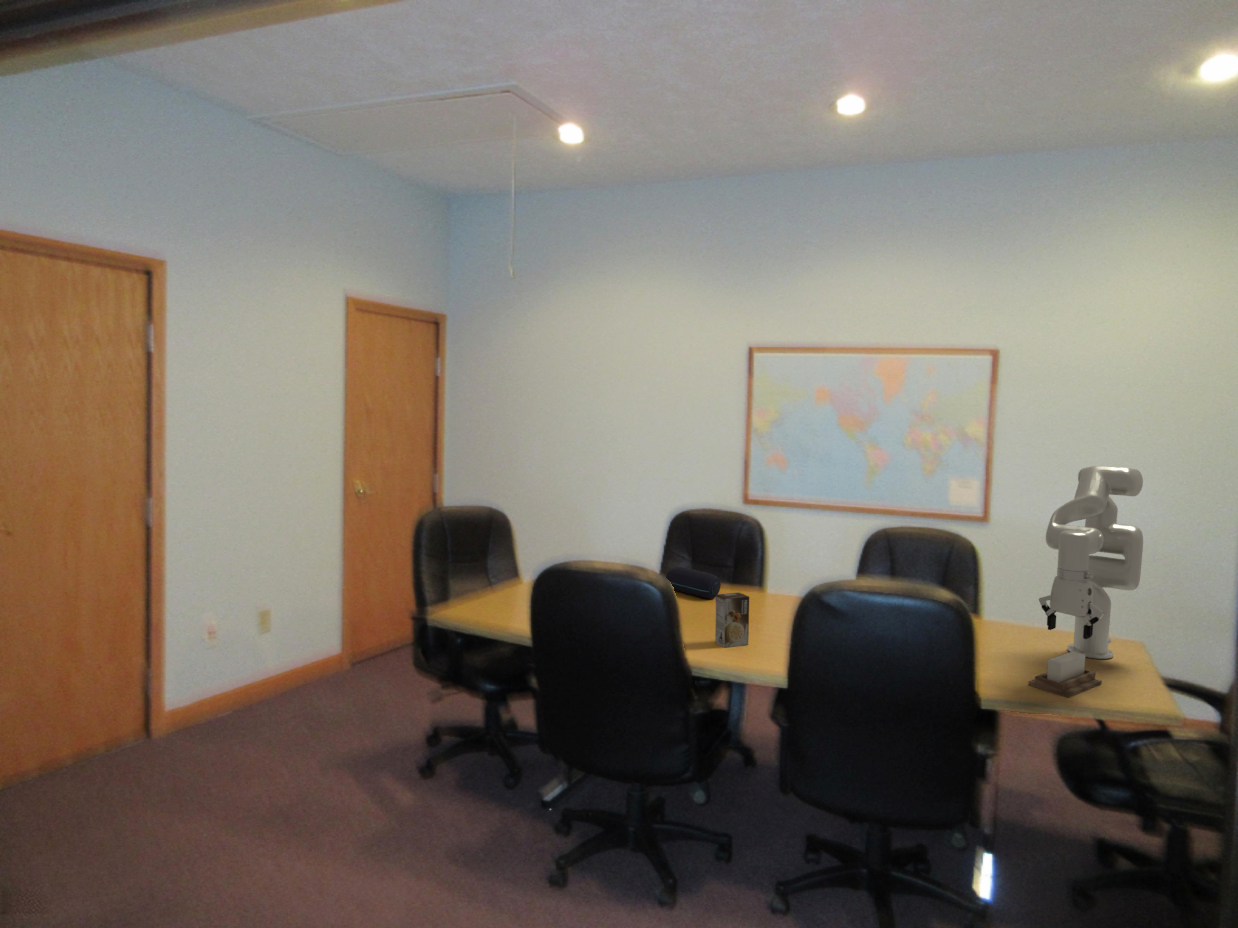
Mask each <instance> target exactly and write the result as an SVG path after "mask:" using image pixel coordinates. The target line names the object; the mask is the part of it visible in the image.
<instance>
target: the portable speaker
mask: <svg viewBox="0 0 1238 928" xmlns="http://www.w3.org/2000/svg"><path fill="white" fill-rule="evenodd" d="M666 578H667V579H668V580H669V581H670V582H671V584H672V586H673V587H674V589H675V590H674V589H673V590H674V591H678V592H680V593H683V594H688V595H692V596H696V597H699V598H703V599H707V600H712V599H716V595H717V594H720V591H721V586H722V585H721V579H719V578H718V577H717V575H715V574H713V573H709V572H705V571H700V570H696V569H691V568H688V567H683V566H675V567H672V568H671V569H669V570H668V571H667V573H666V576H665V579H666Z"/></svg>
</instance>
